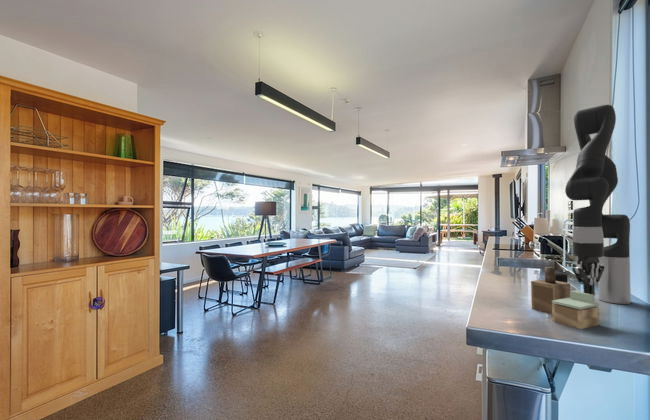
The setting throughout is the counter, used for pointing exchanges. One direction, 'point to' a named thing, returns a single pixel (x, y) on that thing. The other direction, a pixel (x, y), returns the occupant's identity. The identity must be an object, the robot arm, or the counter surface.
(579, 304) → the lid
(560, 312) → the oak box
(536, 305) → the cover
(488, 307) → the counter surface
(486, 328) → the counter surface
